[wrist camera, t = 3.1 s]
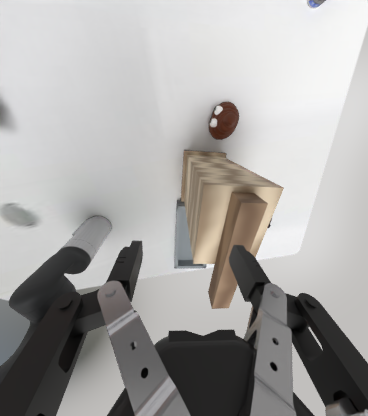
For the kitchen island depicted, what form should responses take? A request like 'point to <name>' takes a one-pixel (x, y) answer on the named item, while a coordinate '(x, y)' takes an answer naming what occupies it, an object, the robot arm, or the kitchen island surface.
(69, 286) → the robot arm
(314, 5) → the pill bottle
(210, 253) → the stand
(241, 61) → the kitchen island surface
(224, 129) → the poop emoji
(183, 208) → the tray
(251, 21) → the kitchen island surface
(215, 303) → the rod
